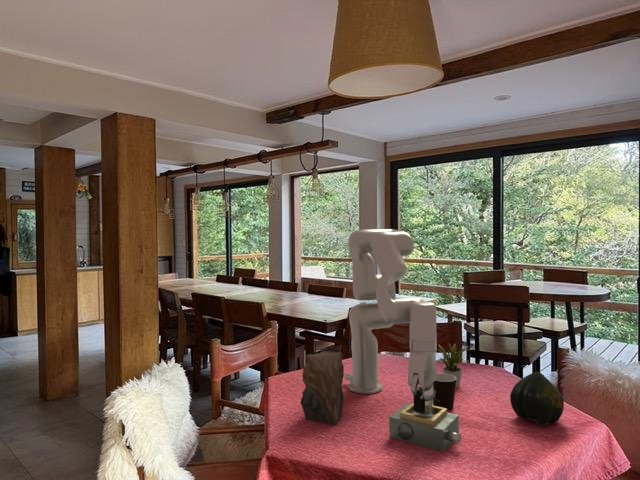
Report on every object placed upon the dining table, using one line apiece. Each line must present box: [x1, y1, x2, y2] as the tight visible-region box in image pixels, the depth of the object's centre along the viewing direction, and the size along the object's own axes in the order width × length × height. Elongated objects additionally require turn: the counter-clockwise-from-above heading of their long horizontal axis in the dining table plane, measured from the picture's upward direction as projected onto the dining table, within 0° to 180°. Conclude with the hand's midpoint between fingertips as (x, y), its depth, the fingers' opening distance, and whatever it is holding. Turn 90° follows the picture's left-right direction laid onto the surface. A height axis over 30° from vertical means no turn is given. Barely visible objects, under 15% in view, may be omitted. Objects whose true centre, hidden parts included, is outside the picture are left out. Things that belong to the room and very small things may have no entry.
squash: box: [509, 371, 565, 427], centre depth 142 cm, size 14×15×15 cm
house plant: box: [436, 342, 472, 389], centre depth 172 cm, size 14×14×16 cm
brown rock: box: [300, 350, 345, 426], centre depth 148 cm, size 13×13×20 cm
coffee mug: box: [433, 372, 456, 412], centre depth 154 cm, size 12×9×10 cm
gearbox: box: [388, 402, 462, 453], centre depth 131 cm, size 19×13×8 cm, turn 54°
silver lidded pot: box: [415, 385, 433, 415], centre depth 132 cm, size 5×5×8 cm
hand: (423, 407), depth 132 cm, fingers closed on silver lidded pot, 5 cm apart
